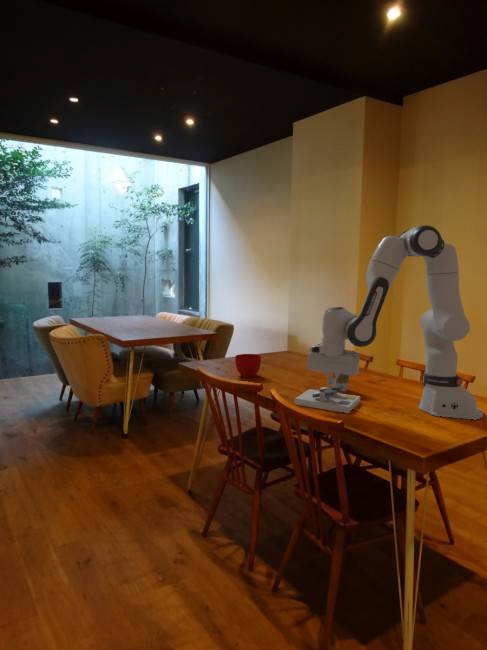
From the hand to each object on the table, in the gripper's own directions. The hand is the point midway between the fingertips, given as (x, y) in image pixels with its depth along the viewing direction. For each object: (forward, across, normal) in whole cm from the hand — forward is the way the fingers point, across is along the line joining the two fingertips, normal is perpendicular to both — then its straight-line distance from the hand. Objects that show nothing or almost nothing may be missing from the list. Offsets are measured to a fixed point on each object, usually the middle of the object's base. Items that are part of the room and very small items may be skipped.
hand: (331, 383), depth 179 cm
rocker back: (+4, +3, -8) cm, 10 cm away
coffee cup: (+10, +5, -27) cm, 29 cm away
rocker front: (+4, +3, 0) cm, 5 cm away
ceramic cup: (+10, +54, -30) cm, 62 cm away
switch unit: (+10, +3, -4) cm, 11 cm away
